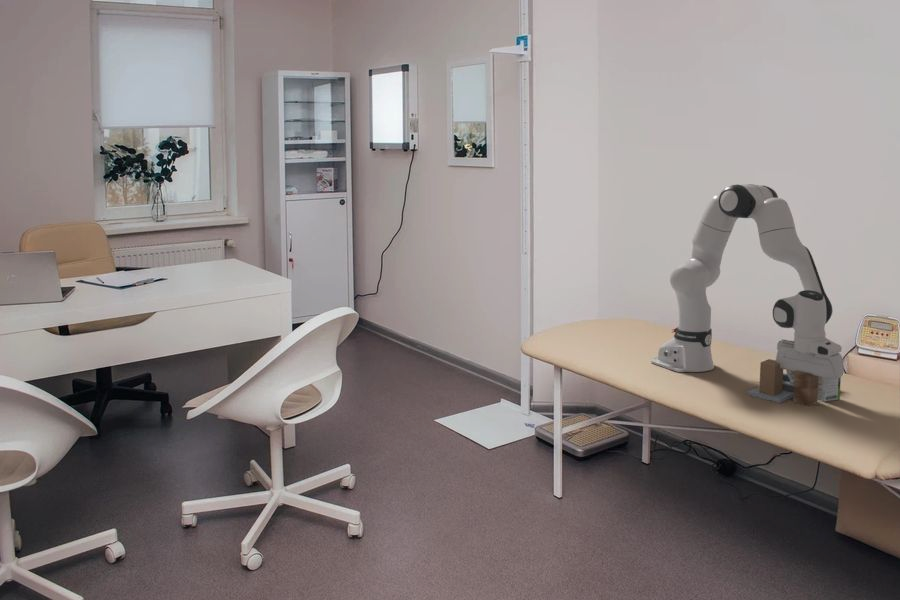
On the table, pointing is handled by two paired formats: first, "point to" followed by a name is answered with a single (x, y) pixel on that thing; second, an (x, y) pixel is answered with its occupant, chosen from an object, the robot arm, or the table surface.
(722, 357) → the table surface
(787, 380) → the grey base with blocks
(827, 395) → the syrup box
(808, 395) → the block
